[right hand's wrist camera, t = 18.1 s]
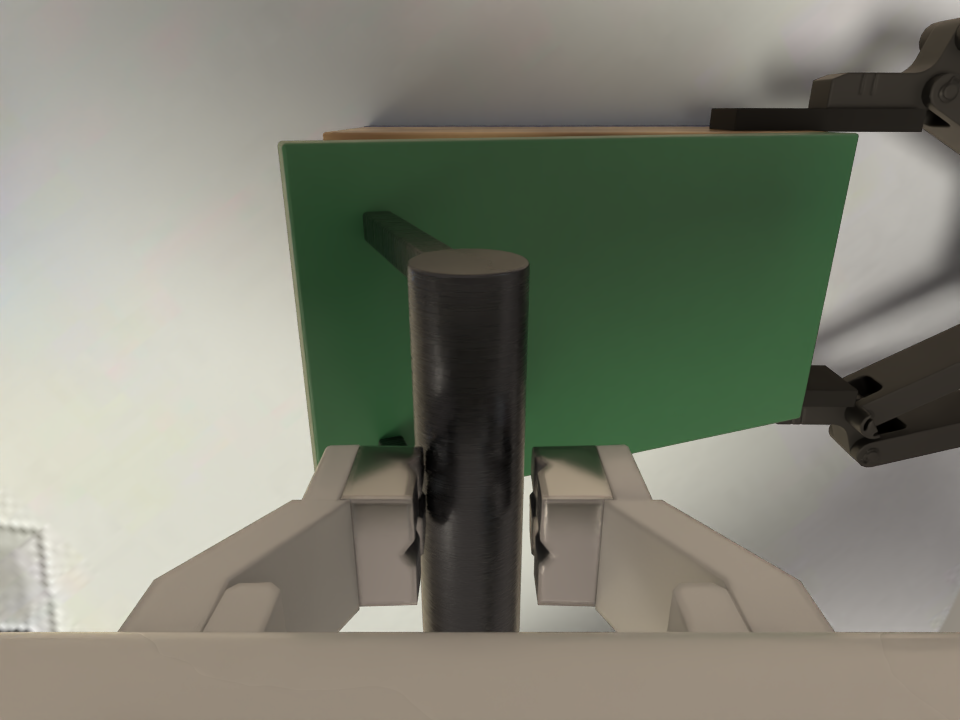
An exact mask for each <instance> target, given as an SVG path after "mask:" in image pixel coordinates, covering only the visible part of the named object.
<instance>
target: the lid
mask: <svg viewBox="0 0 960 720" xmlns="http://www.w3.org/2000/svg"><path fill="white" fill-rule="evenodd" d="M858 137H859V136H858V134H856V133H839V132H800V133H739V134H678V135H617V136H556V137H495V138H435V139H374V140H313V141H280V142H279V143H278V153H279V162H280V171H281V180H282V189H283V197H284V206H285V215H286V224H287V233H288V242H289V250H290V259H291V268H292V277H293V286H294V294H295V303H296V312H297V321H298V330H299V339H300V347H301V356H302V365H303V374H304V383H305V392H306V400H307V409H308V418H309V427H310V436H311V445H312V453H313V462H314V471H315V470H316V468H317V466H318V464H319V462H320V459H321V457H322V455H323V453H324V451H325V449H326V447H327V446H330V445H360V446H362V445H373V446H423V451H424V464H425V474H424V481H423V489H422V491H423V493H424V494H425V495H426V535H425V547H424V554H423V555H422V556H421V595H422V617H423V632H519V628H520V595H521V560H522V525H523V489H524V476H529V475H531V454H532V448H533V447H541V446H583V445H595V446H601V445H624V444H625V445H626V446H628V447H629V449H630V451H631V453H637V452H642V451H646V450H651V449H656V448H660V447H665V446H670V445H674V444H679V443H684V442H689V441H693V440H698V439H703V438H707V437H712V436H717V435H721V434H726V433H731V432H736V431H740V430H745V429H750V428H754V427H759V426H764V425H768V424H773V423H778V422H782V421H787V420H792V419H797V418H799V417H800V416H801V411H802V406H803V402H804V397H805V392H806V387H807V382H808V377H809V373H810V368H811V363H812V358H813V353H814V349H815V344H816V339H817V334H818V329H819V325H820V320H821V315H822V310H823V305H824V300H825V296H826V291H827V286H828V281H829V276H830V272H831V267H832V262H833V257H834V252H835V248H836V243H837V238H838V233H839V228H840V223H841V219H842V214H843V209H844V204H845V199H846V195H847V190H848V185H849V180H850V175H851V171H852V166H853V161H854V156H855V151H856V146H857V142H858Z"/></svg>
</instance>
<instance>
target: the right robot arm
mask: <svg viewBox="0 0 960 720" xmlns="http://www.w3.org/2000/svg"><path fill="white" fill-rule="evenodd" d="M424 474H425V464H424V451H423V446H373V445H362V446H360V445H330V446H327V447H326V449H325V451H324V453H323V455H322V457H321V459H320V462H319V464H318V466H317V468H316V470H315V472H314V475H313V477H312V479H311V481H310V483H309V485H308V488H307V490H306V492H305V494H304V496H303V498H302V500H292V501H290V502H288V503H286V504H285V505H283V506H281V507H279V508H278V509H276V510H274V511H272V512H271V513H269V514H267V515H266V516H264V517H262V518H260V519H259V520H257V521H255V522H253V523H252V524H250V525H248V526H247V527H245V528H243V529H241V530H240V531H238V532H236V533H234V534H233V535H231V536H229V537H228V538H226V539H224V540H222V541H221V542H219V543H217V544H215V545H214V546H212V547H210V548H208V549H207V550H205V551H203V552H202V553H200V554H198V555H196V556H195V557H193V558H191V559H189V560H188V561H186V562H184V563H183V564H181V565H179V566H177V567H176V568H174V569H172V570H170V571H169V572H167V573H165V574H164V575H162V576H160V577H158V578H157V579H155V580H154V581H153V582H152V583H151V585H150V586H149V588H148V589H147V591H146V592H145V593H144V595H143V596H142V598H141V599H140V601H139V602H138V603H137V605H136V606H135V608H134V609H133V611H132V612H131V613H130V615H129V616H128V618H127V619H126V621H125V622H124V623H123V625H122V626H121V628H120V629H119V631H118V632H0V720H960V632H835V631H834V630H833V628H832V627H831V626H830V624H829V623H828V621H827V620H826V618H825V617H824V615H823V614H822V612H821V611H820V609H819V608H818V606H817V605H816V604H815V602H814V601H813V599H812V598H811V596H810V595H809V593H808V592H807V590H806V589H805V587H804V586H803V584H802V583H801V581H799V580H798V579H796V578H794V577H793V576H791V575H789V574H787V573H786V572H784V571H782V570H781V569H779V568H777V567H775V566H774V565H772V564H770V563H769V562H767V561H765V560H764V559H762V558H760V557H758V556H757V555H755V554H753V553H752V552H750V551H748V550H746V549H745V548H743V547H741V546H740V545H738V544H736V543H735V542H733V541H731V540H729V539H728V538H726V537H724V536H723V535H721V534H719V533H717V532H716V531H714V530H712V529H711V528H709V527H707V526H706V525H704V524H702V523H700V522H699V521H697V520H695V519H694V518H692V517H690V516H688V515H687V514H685V513H683V512H682V511H680V510H678V509H677V508H675V507H673V506H671V505H670V504H668V503H666V502H665V501H663V500H652V497H651V495H650V493H649V491H648V489H647V486H646V484H645V482H644V480H643V478H642V475H641V473H640V471H639V469H638V467H637V464H636V462H635V460H634V458H633V456H632V453H631V451H630V449H629V447H628V446H626V445H625V444H624V445H601V446H595V445H583V446H541V447H533V448H532V454H531V479H532V486H533V492H532V493H531V494H530V513H529V515H530V543H531V553H532V555H534V578H535V586H536V594H537V601H538V605H559V606H596V607H595V609H596V610H597V611H598V612H599V613H600V615H601V616H602V617H603V618H604V619H605V620H606V621H607V622H608V623H609V624H610V625H611V626H612V628H613V629H614V630H615V631H616V632H339V631H340V630H341V629H342V628H343V627H344V625H345V624H346V623H347V622H348V621H349V620H350V619H351V618H352V617H353V616H354V615H355V614H356V613H357V612H358V611H359V606H394V605H417V601H418V594H419V586H420V579H421V556H422V555H423V554H424V547H425V535H426V495H425V494H424V493H423V491H422V489H423V481H424Z"/></svg>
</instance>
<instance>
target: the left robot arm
mask: <svg viewBox="0 0 960 720" xmlns="http://www.w3.org/2000/svg"><path fill="white" fill-rule="evenodd" d="M919 48H920V52H919V54H918V56H917V58H916V59H915V61H914V62H913V64H912V65H911V66H910V67H909V68H908V69H906V70H905V71H903V72H901V73H840V74H831V75H826V76H824V77H821V78H819V79H816V80H814V81H813V84H812V90H811V95H810V101H809V106H808V108H712V111H711V119H710V127H709V129H718V130H731V131H824V132H922V128H923V129H924V130H926V131H927V132H928V133H930V134H931V135H933V136H934V137H935V138H937V139H938V140H940V141H941V142H942V143H944V144H945V145H947V146H948V147H949V148H951V149H952V150H954V151H955V152H956V153H958V154H959V155H960V18H956V19H951V20H946V21H941V22H937V23H934V24H931V25H930V26H929V27H927V28H926V29H925V31H924V32H923V33H922V35H921V38H920V41H919ZM959 389H960V324H959V325H956V326H954V327H952V328H950V329H948V330H946V331H943V332H941V333H939V334H937V335H935V336H933V337H930V338H928V339H926V340H924V341H922V342H920V343H917V344H915V345H913V346H911V347H909V348H907V349H904V350H902V351H900V352H898V353H896V354H894V355H891V356H889V357H887V358H885V359H883V360H881V361H878V362H876V363H874V364H872V365H870V366H868V367H865V368H863V369H861V370H859V371H857V372H854V373H852V374H850V375H848V376H846V377H844V378H841V377H840V376H838V375H837V374H836V373H835V372H833V371H832V370H831V369H829V368H828V367H827V366H825V365H811V368H810V373H809V377H808V382H807V387H806V392H805V397H804V402H803V406H802V411H801V416H800V417H799V418H797V419H792V420H787V421H782V422H778V423H776V424H817V425H830V427H829V434H830V436H831V437H832V438H833V439H834V440H835V441H836V442H837V443H838V444H839V445H840V446H841V447H842V448H843V449H844V450H845V451H846V452H847V453H848V454H849V455H850V456H851V457H853V458H854V459H855V460H856V461H857V462H858V463H859V464H860V465H861V466H864V467H874V466H878V465H883V464H887V463H891V462H896V461H900V460H905V459H909V458H914V457H918V456H923V455H927V454H931V453H936V452H940V451H945V450H949V449H954V448H958V447H960V390H959Z"/></svg>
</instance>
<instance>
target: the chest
mask: <svg viewBox="0 0 960 720" xmlns="http://www.w3.org/2000/svg"><path fill="white" fill-rule="evenodd" d="M709 127H710V126H365V127H361V128H354V129H346V130H338V131H330V132H325V133H323V140H374V139H435V138H495V137H556V136H617V135H678V134H739V133H800V132H824V131H731V130H718V129H709Z"/></svg>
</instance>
